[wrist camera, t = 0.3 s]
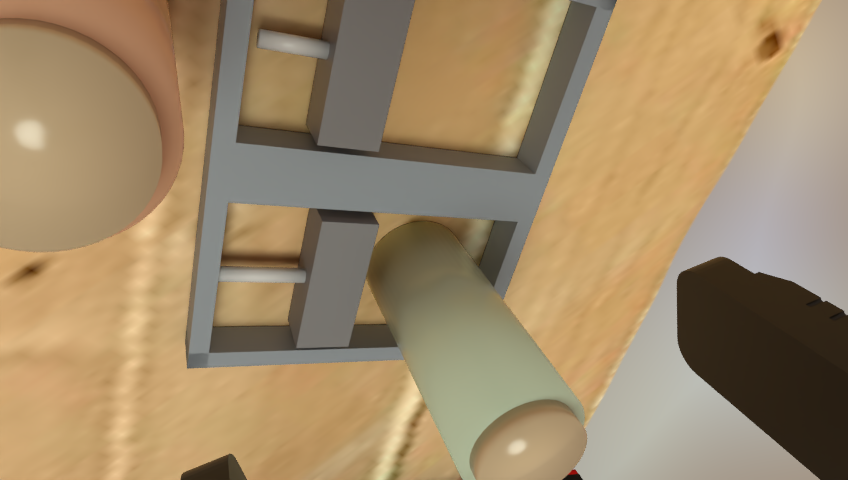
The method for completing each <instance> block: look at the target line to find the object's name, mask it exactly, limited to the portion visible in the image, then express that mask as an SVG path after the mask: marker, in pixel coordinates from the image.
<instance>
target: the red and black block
mask: <svg viewBox="0 0 848 480" xmlns="http://www.w3.org/2000/svg"><path fill="white" fill-rule="evenodd" d="M562 480H583V479H582V478H581V477H580V475H579V474H578V473H577V471H576V470H575V469H574V470H572V471H571V472H570V473H569V474H568V475H567V476H566V477H565V478H563V479H562Z"/></svg>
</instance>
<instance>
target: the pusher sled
mask: <svg viewBox="0 0 848 480" xmlns="http://www.w3.org/2000/svg"><path fill="white" fill-rule="evenodd" d="M414 2H415V0H328V4H327V10H326V15H325V21H324V27H323V32H322V38H321V40H320V39H314V38H309V37H303V36H298V35H292V34H287V33H281V32H276V31H270V30H265V29H260V28H259V29H258V33H257V48H261V49H266V50H272V51H278V52H284V53H290V54H296V55H302V56H308V57H314V58H318V60H317V66H316V71H315V77H314V82H313V88H312V94H311V99H310V105H309V110H308V116H307V122H306V125H307V127H308V129H309V131H310V133H311V134H312V136H313V138H314V140H315V142H316V144H317V145H320V146H329V147H338V148H347V149H356V150H366V151H375V152H379V149H380V144H381V140H382V136H383V132H384V128H385V124H386V119H387V115H388V111H389V107H390V103H391V99H392V94H393V90H394V86H395V82H396V78H397V73H398V69H399V65H400V61H401V57H402V53H403V48H404V44H405V40H406V36H407V32H408V27H409V23H410V19H411V15H412V11H413V7H414Z"/></svg>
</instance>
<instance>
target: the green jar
mask: <svg viewBox="0 0 848 480" xmlns="http://www.w3.org/2000/svg"><path fill="white" fill-rule="evenodd" d="M366 279H367V283H368V285H369V287H370V290H371V292H372V294H373V296H374V298H375V300H376V302H377V304H378V306H379V308H380V310H381V312H382V314H383V316H384V318H385V321H386V323H387V325H388V327H389V329H390V331H391V333H392V335H393V337H394V339H395V341H396V343H397V345H398V347H399V350H400V352H401V354H402V356H403V358H404V360H405V362H406V364H407V366H408V368H409V370H410V372H411V374H412V376H413V379H414V381H415V383H416V385H417V387H418V389H419V391H420V393H421V395H422V397H423V399H424V401H425V403H426V405H427V408H428V410H429V412H430V414H431V416H432V418H433V420H434V422H435V424H436V426H437V428H438V430H439V432H440V434H441V437H442V439H443V441H444V443H445V445H446V447H447V449H448V451H449V453H450V455H451V457H452V459H453V461H454V463H455V466H456V468H457V470H458V472H459V474H460V476H461V478H462V479H463V480H562V479H563V478H565V477H566V476H567V475H568V474H569V473H570V472H571V471H572V470H573V468H574V467H575V466H576V465H577V463H578V462H579V460H580V459H581V457H582V455H583V453H584V451H585V448H586V444H587V434H586V430H585V428H584V427H583V425H584V419H585V415H584V409H583V406H582V404H581V402H580V401H579V400H578V399H577V397H576V396H575V395H574V393H573V392H572V391H571V389H570V388H569V387H568V385H567V384H566V383H565V381H564V380H563V379H562V377H561V376H560V375H559V373H558V372H557V371H556V369H555V368H554V367H553V365H552V364H551V363H550V361H549V360H548V359H547V357H546V356H545V355H544V353H543V352H542V351H541V349H540V348H539V347H538V345H537V344H536V343H535V341H534V340H533V339H532V337H531V336H530V335H529V333H528V332H527V331H526V330H525V328H524V327H523V326H522V324H521V323H520V322H519V320H518V319H517V318H516V316H515V315H514V314H513V312H512V311H511V310H510V308H509V307H508V306H507V304H506V303H505V302H504V300H503V299H502V298H501V296H500V295H499V294H498V292H497V291H496V290H495V288H494V287H493V286H492V284H491V283H490V282H489V280H488V279H487V278H486V276H485V275H484V274H483V272H482V271H481V270H480V268H479V267H478V266H477V264H476V263H475V262H474V261H473V259H472V258H471V257H470V255H469V254H468V253H467V251H466V250H465V249H464V247H463V246H462V245H461V243H460V242H459V241H458V239H457V238H456V237H455V235H454V234H453V233H452V232H451V231H450V230H449V229H448V228H446V227H445V226H443V225H441V224H438V223H435V222H429V221H418V222H412V223H408V224H405V225H402V226H400V227H398V228H396V229H394V230H393V231H391V232H389V233H388V234H387V235H386V236H384V237H383V238H382V239H381V240H380V241H379V242H378V244H377V245H376V246H375V247H374V249H373V251H372V255H371V259H370V263H369V267H368V271H367V275H366Z"/></svg>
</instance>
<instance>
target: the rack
mask: <svg viewBox="0 0 848 480" xmlns="http://www.w3.org/2000/svg"><path fill="white" fill-rule="evenodd" d="M616 1H617V0H571V4H570V7H569V10H568V13H567V16H566V19H565V21H564V24H563V27H562V30H561V33H560V36H559V39H558V41H557V44H556V47H555V50H554V53H553V56H552V59H551V62H550V64H549V67H548V70H547V73H546V76H545V79H544V82H543V85H542V87H541V90H540V93H539V96H538V99H537V102H536V105H535V108H534V110H533V113H532V116H531V119H530V122H529V125H528V128H527V131H526V133H525V136H524V139H523V142H522V145H521V148H520V151H519V154H518V156H517V158H513V157H505V156H496V155H488V154H479V153H471V152H462V151H454V150H445V149H436V148H428V147H419V146H411V145H402V144H394V143H385V142H381V144H380V149H379V152H375V151H366V150H356V149H347V148H338V147H329V146H320V145H317V144H316V142H315V140H314V138H313V136H312V134H309V133H300V132H292V131H283V130H275V129H266V128H258V127H249V126H241V125H238V121H239V113H240V105H241V97H242V90H243V82H244V74H245V66H246V58H247V50H248V43H249V35H250V27H251V19H252V11H253V3H254V0H221V5H220V14H219V24H218V33H217V43H216V53H215V62H214V72H213V81H212V91H211V100H210V110H209V119H208V129H207V139H206V148H205V158H204V167H203V177H202V186H201V196H200V205H199V215H198V225H197V234H196V244H195V253H194V263H193V272H192V282H191V291H190V301H189V311H188V320H187V330H186V339H185V345H186V359H187V368H210V367H235V366H259V365H284V364H309V363H333V362H358V361H383V360H404V358H403V356H402V354H401V352H400V350H399V347H398V345H397V343H396V341H395V339H394V337H393V335H392V333H391V331H390V329H389V327H388V325H354V322H355V318H356V314H357V310H358V306H359V302H360V299H361V295H362V291H363V287H364V283H365V279H366V275H367V271H368V267H369V263H370V259H371V255H372V251H373V247H374V243H375V239H376V236H377V232H378V228H379V224H378V222H377V220H376V218H375V217H374V215H373V213H372V212H378V213H393V214H408V215H423V216H438V217H453V218H469V219H484V220H495V223H494V225H493V228H492V231H491V234H490V237H489V240H488V243H487V245H486V248H485V251H484V254H483V257H482V260H481V263H480V266H479V268H480V270H481V271H482V272H483V274H484V275H485V276H486V278H487V279H488V280H489V282H490V283H491V284H492V286H493V287H494V288H495V290H496V291H497V292H498V294H499V295H500V296H501V298H502V299H504V297H505V294H506V291H507V289H508V286H509V283H510V281H511V278H512V275H513V273H514V270H515V268H516V265H517V262H518V260H519V257H520V254H521V252H522V249H523V246H524V244H525V241H526V239H527V236H528V233H529V231H530V228H531V225H532V223H533V220H534V217H535V215H536V212H537V210H538V207H539V204H540V202H541V199H542V196H543V194H544V191H545V188H546V186H547V183H548V181H549V178H550V175H551V173H552V170H553V167H554V165H555V162H556V159H557V157H558V154H559V152H560V149H561V146H562V144H563V141H564V138H565V136H566V133H567V130H568V128H569V125H570V123H571V120H572V117H573V115H574V112H575V109H576V107H577V104H578V101H579V99H580V96H581V94H582V91H583V88H584V86H585V83H586V80H587V78H588V75H589V72H590V70H591V67H592V65H593V62H594V59H595V57H596V54H597V51H598V49H599V46H600V43H601V41H602V38H603V36H604V33H605V30H606V28H607V25H608V22H609V20H610V17H611V14H612V12H613V9H614V7H615V4H616ZM228 203H242V204H257V205H272V206H287V207H303V208H309V213H308V218H307V223H306V229H305V234H304V239H303V244H302V249H301V254H300V260H299V265H298V268H283V267H243V266H220V262H221V254H222V246H223V239H224V231H225V223H226V215H227V207H228ZM218 282H273V283H295V285H294V290H293V296H292V301H291V306H290V311H289V316H288V321H289V325H290V326H254V327H212V325H213V317H214V309H215V301H216V294H217V286H218Z"/></svg>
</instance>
